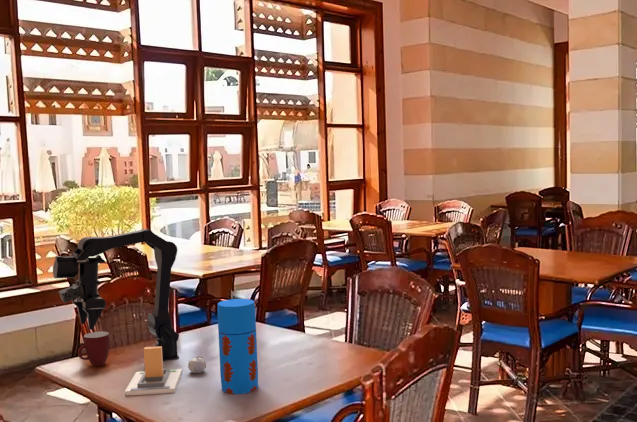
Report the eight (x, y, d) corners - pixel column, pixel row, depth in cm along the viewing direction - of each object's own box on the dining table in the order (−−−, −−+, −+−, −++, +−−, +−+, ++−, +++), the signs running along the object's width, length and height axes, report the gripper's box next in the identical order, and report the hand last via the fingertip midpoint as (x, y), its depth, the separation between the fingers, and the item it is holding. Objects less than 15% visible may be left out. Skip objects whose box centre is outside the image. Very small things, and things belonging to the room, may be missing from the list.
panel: (136, 375, 214) (136, 368, 214) (182, 372, 215) (181, 365, 215) (124, 395, 196) (124, 387, 196) (174, 392, 198) (174, 384, 197)
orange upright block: (147, 377, 207) (145, 346, 207) (163, 376, 208) (162, 345, 207) (145, 381, 204) (143, 349, 203) (162, 380, 204) (160, 348, 203)
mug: (87, 371, 220) (85, 340, 220) (73, 367, 226) (71, 337, 225) (116, 363, 228) (114, 333, 228) (102, 359, 234) (100, 330, 233)
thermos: (242, 396, 192) (238, 308, 190) (213, 390, 198) (209, 305, 196) (265, 384, 201) (262, 300, 199) (237, 379, 207) (233, 297, 205)
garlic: (210, 370, 217) (209, 354, 217) (200, 375, 212) (200, 359, 212) (194, 368, 219) (194, 352, 219) (184, 373, 215) (183, 357, 214)
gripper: (54, 274, 220) (53, 323, 221) (69, 282, 205) (68, 334, 205) (90, 273, 226) (88, 320, 227) (107, 280, 211) (105, 331, 211)
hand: (86, 326), depth 217 cm, fingers open, 9 cm apart
